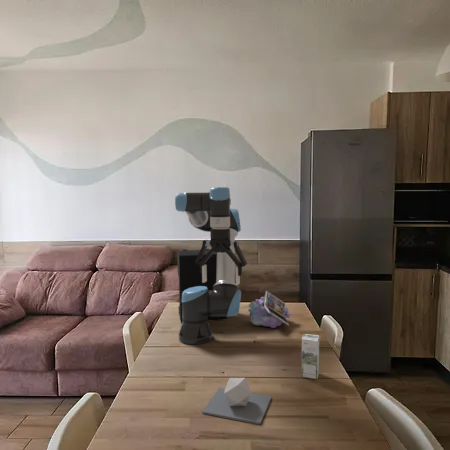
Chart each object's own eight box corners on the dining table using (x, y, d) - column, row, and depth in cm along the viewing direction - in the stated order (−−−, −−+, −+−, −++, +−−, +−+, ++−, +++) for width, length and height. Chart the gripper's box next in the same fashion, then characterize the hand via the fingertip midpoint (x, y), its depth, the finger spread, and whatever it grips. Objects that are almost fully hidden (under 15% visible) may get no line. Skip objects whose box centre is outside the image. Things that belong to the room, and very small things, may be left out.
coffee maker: (227, 308, 222) (227, 247, 219) (234, 319, 203) (234, 253, 200) (178, 311, 217) (177, 249, 214) (180, 323, 198) (179, 255, 195)
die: (242, 416, 116) (258, 387, 118) (217, 400, 117) (233, 371, 119) (241, 411, 123) (256, 383, 126) (218, 396, 125) (233, 369, 127)
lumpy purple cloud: (256, 305, 211) (250, 281, 201) (296, 307, 203) (291, 282, 193) (247, 335, 196) (240, 311, 186) (290, 339, 188) (285, 314, 178)
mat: (202, 413, 117) (202, 411, 117) (219, 389, 132) (219, 387, 132) (260, 424, 112) (260, 422, 111) (271, 398, 126) (271, 396, 126)
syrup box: (319, 372, 143) (319, 334, 141) (317, 380, 137) (317, 340, 136) (303, 370, 144) (303, 332, 143) (301, 378, 139) (301, 338, 138)
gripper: (186, 228, 148) (187, 283, 150) (249, 229, 139) (249, 287, 141) (194, 226, 155) (195, 278, 157) (254, 227, 147) (254, 282, 148)
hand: (220, 283), depth 149 cm, fingers open, 13 cm apart
